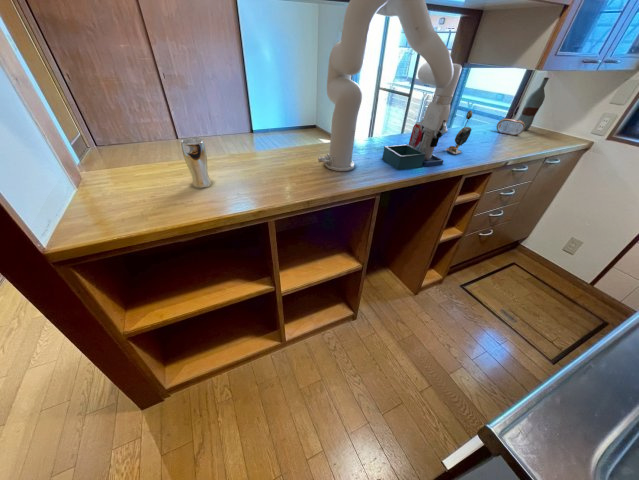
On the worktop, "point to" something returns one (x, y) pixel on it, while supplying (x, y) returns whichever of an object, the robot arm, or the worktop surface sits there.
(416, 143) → the soda can
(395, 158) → the basket
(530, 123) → the bottle
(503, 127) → the tin
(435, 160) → the tray
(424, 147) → the energy drink can
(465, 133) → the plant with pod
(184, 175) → the worktop surface
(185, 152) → the beer glass
